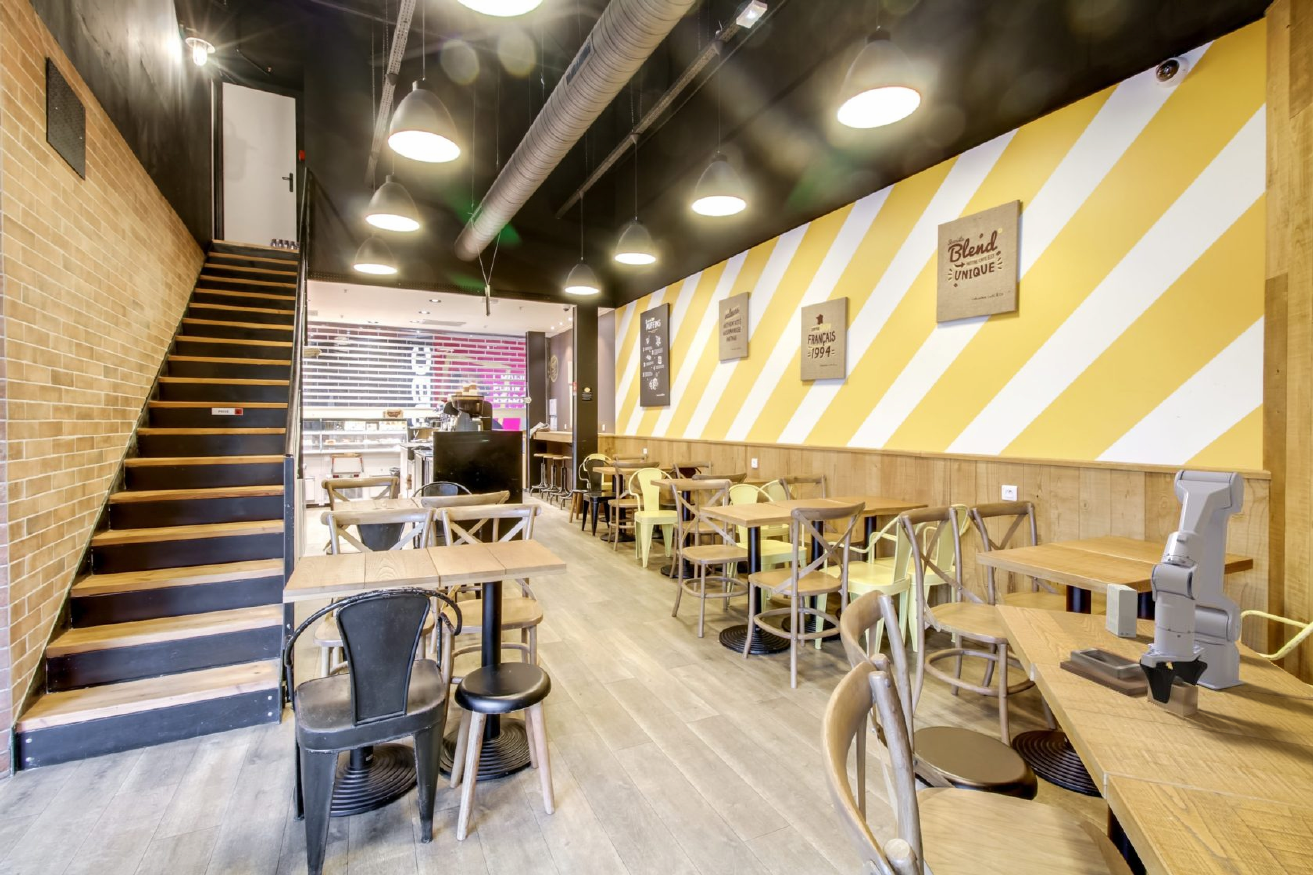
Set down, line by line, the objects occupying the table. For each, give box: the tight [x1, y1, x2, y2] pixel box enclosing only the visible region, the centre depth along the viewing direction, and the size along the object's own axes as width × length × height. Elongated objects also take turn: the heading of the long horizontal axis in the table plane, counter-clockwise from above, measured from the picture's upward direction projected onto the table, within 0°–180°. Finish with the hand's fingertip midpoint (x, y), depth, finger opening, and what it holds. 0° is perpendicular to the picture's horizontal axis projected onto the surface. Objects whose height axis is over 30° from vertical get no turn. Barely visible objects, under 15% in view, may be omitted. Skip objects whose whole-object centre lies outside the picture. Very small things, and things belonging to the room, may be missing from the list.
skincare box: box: [1105, 583, 1139, 639], centre depth 153 cm, size 6×4×12 cm
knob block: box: [1146, 676, 1199, 717], centre depth 114 cm, size 4×6×6 cm
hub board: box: [1059, 646, 1148, 696], centre depth 128 cm, size 16×14×3 cm
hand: (1172, 698), depth 114 cm, fingers open, 6 cm apart
